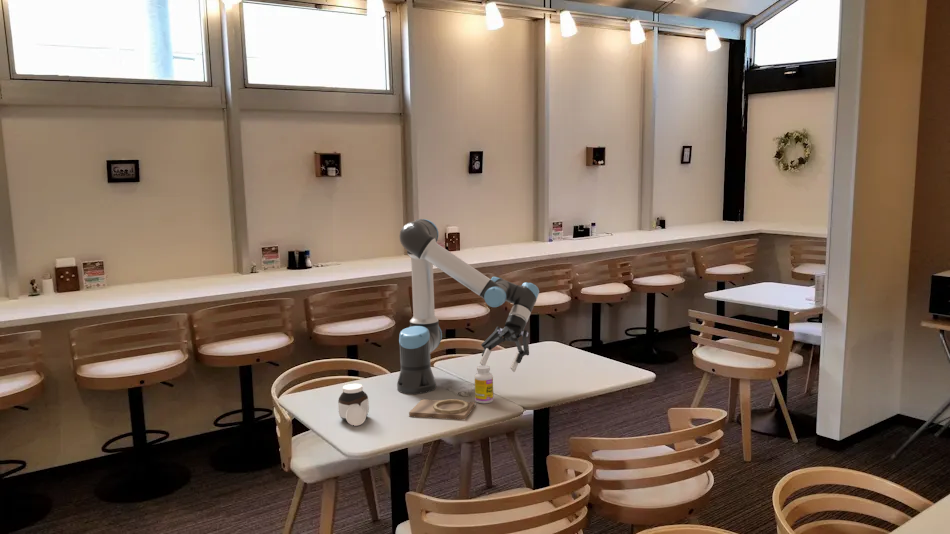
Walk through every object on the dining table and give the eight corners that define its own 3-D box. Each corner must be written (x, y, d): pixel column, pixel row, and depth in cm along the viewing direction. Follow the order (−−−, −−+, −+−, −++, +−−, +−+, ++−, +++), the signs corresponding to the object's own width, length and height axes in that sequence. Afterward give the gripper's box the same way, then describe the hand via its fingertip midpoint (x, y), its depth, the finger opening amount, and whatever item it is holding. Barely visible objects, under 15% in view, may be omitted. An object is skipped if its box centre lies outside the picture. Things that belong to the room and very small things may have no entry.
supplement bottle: (487, 405, 262) (486, 370, 261) (471, 402, 266) (470, 368, 264) (496, 399, 268) (495, 365, 266) (481, 397, 271) (480, 363, 270)
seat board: (409, 416, 253) (408, 409, 253) (422, 403, 267) (421, 396, 266) (464, 419, 248) (464, 412, 248) (475, 406, 262) (474, 399, 261)
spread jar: (357, 412, 259) (356, 381, 257) (379, 418, 252) (378, 386, 250) (331, 422, 250) (329, 389, 248) (353, 429, 243) (351, 395, 241)
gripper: (549, 328, 275) (529, 377, 265) (494, 321, 289) (474, 367, 280) (541, 317, 270) (521, 366, 260) (486, 311, 284) (465, 357, 275)
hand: (497, 367), depth 270 cm, fingers open, 13 cm apart
